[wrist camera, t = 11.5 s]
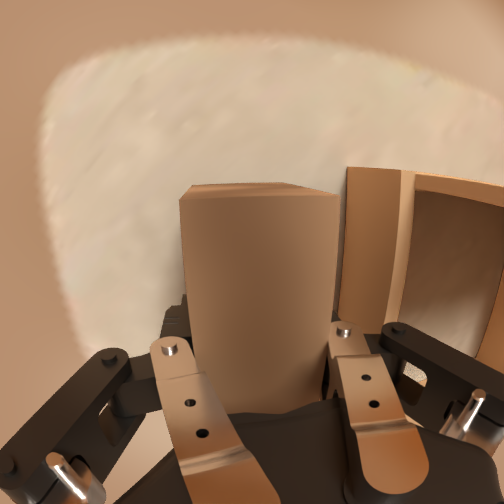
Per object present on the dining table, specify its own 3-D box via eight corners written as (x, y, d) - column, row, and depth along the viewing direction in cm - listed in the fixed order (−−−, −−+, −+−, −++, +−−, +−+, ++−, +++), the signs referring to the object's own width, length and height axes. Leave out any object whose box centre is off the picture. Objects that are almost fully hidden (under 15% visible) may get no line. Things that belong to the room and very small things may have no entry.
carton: (517, 189, 18) (616, 218, 6) (477, 361, 23) (542, 420, 12) (347, 166, 15) (555, 194, 4) (320, 416, 20) (377, 537, 9)
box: (282, 182, 13) (339, 196, 7) (278, 379, 16) (306, 458, 10) (192, 185, 12) (179, 200, 7) (209, 385, 15) (216, 470, 10)
